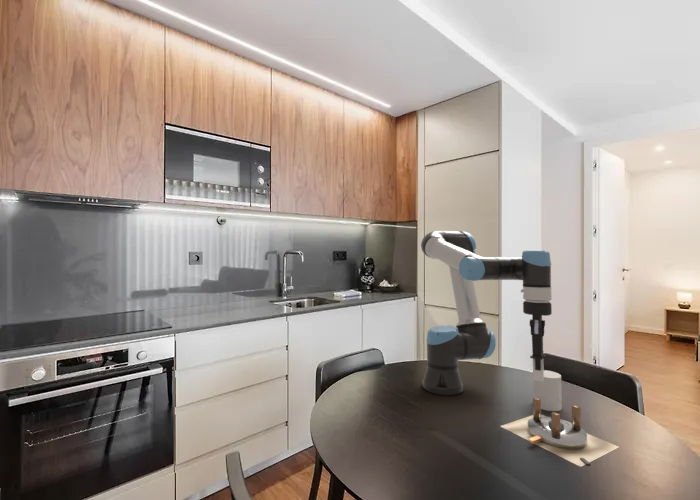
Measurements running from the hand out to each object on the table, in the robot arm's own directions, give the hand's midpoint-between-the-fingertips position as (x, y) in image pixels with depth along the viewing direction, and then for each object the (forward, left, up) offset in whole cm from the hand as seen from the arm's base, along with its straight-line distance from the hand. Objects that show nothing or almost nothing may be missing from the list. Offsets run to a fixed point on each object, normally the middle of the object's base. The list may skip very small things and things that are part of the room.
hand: (538, 380), depth 102 cm
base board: (+7, -3, -14) cm, 16 cm away
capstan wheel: (+7, -5, -12) cm, 15 cm away
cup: (-6, +14, -14) cm, 21 cm away
